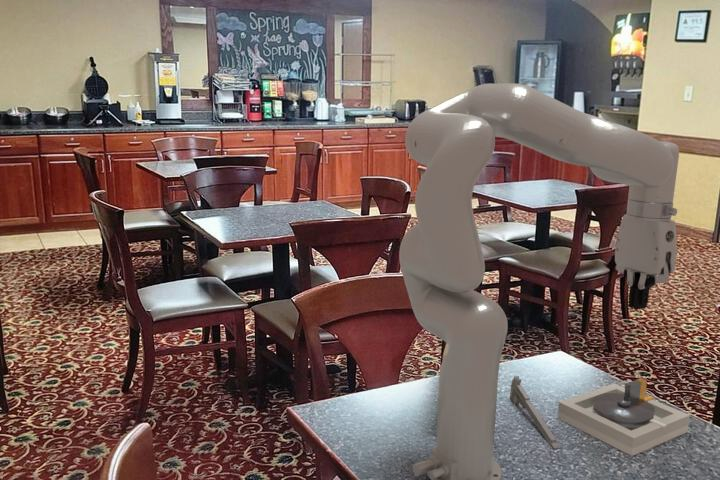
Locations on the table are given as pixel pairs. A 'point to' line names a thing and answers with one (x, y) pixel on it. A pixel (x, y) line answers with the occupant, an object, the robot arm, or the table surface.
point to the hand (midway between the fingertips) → (637, 307)
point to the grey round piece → (626, 406)
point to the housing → (631, 442)
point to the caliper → (530, 410)
